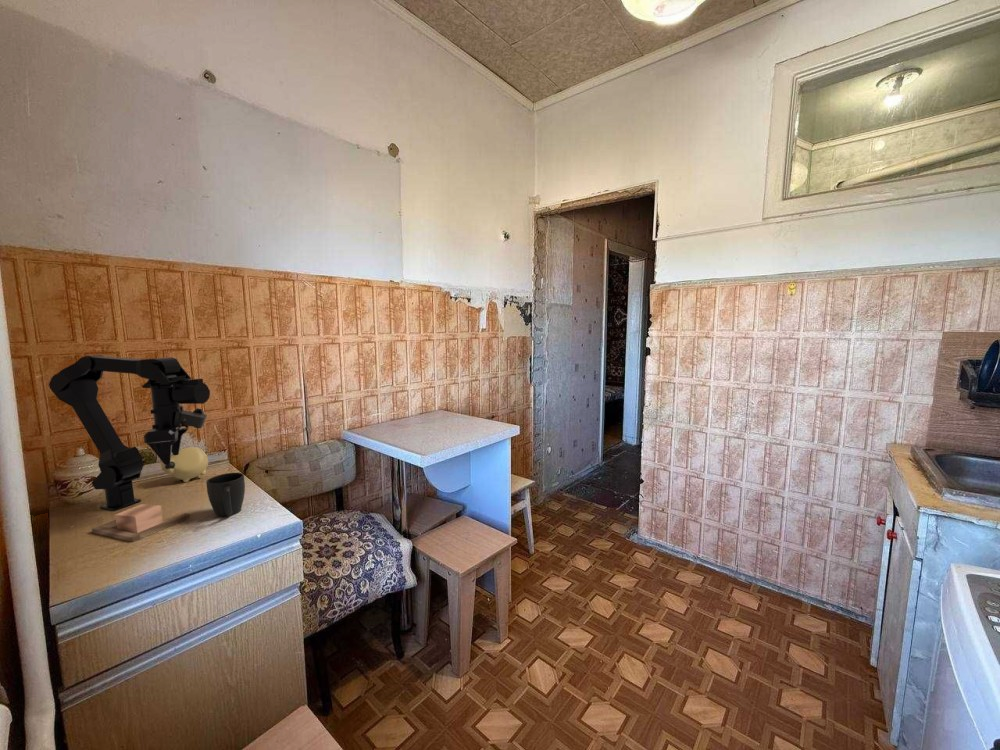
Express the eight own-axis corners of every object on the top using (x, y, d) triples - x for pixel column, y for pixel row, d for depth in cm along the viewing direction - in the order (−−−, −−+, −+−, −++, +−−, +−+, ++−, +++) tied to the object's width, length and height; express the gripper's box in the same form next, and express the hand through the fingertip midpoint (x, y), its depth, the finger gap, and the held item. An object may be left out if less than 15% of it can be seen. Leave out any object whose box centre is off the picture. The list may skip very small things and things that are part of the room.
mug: (207, 529, 98) (203, 491, 97) (210, 510, 108) (207, 476, 107) (247, 519, 103) (244, 483, 101) (246, 503, 113) (243, 470, 112)
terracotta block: (117, 532, 98) (115, 514, 97) (143, 520, 103) (141, 504, 103) (137, 534, 96) (135, 516, 96) (162, 522, 102) (160, 505, 102)
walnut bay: (92, 532, 97) (91, 528, 97) (150, 510, 109) (150, 506, 109) (133, 541, 93) (132, 537, 92) (189, 517, 104) (189, 514, 104)
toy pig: (161, 481, 131) (157, 449, 130) (206, 471, 139) (203, 441, 138) (165, 489, 124) (161, 455, 123) (212, 478, 132) (209, 447, 131)
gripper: (195, 406, 105) (201, 464, 107) (208, 396, 122) (213, 446, 123) (140, 411, 100) (146, 471, 102) (161, 399, 117) (166, 452, 118)
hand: (171, 459), depth 111 cm, fingers open, 9 cm apart
